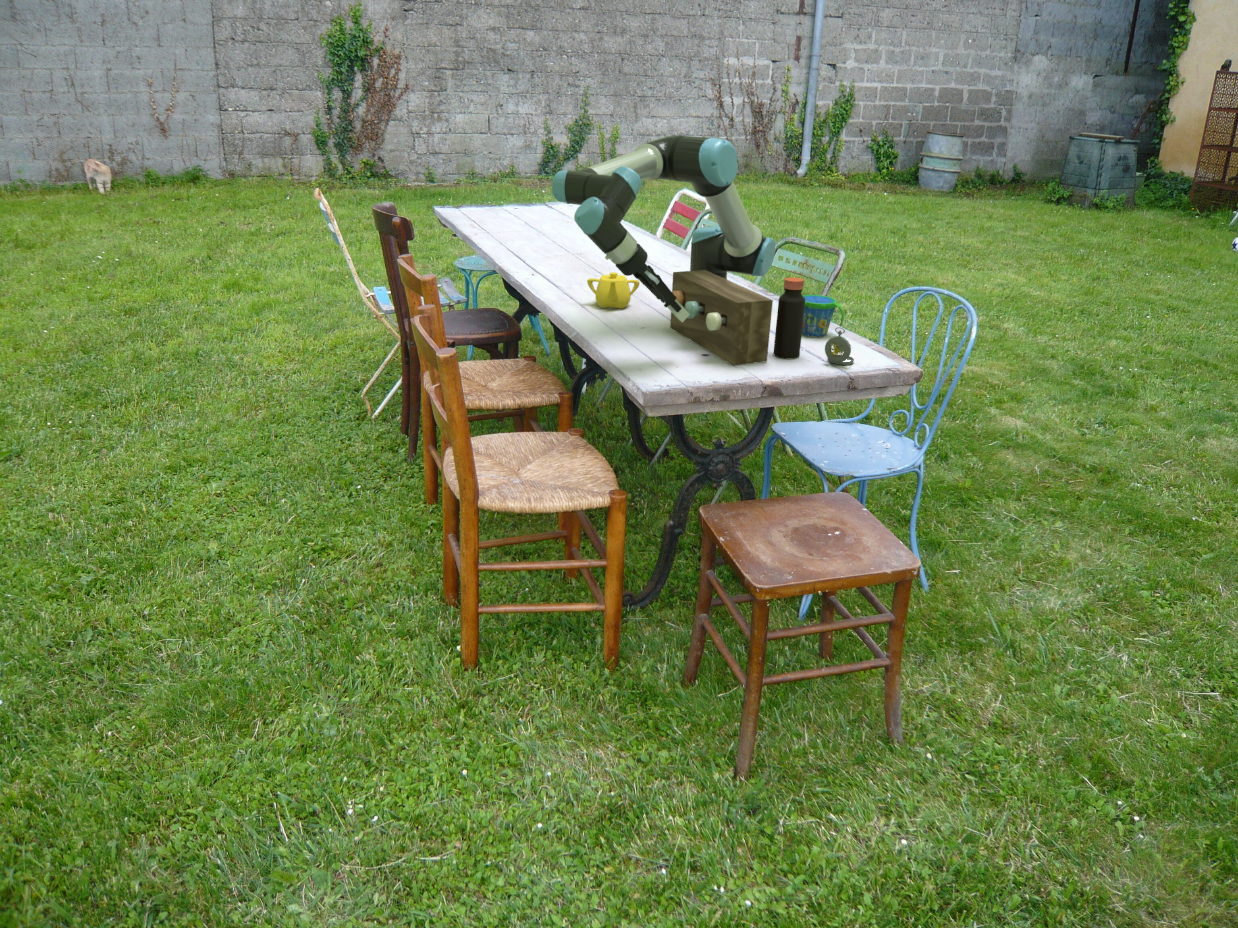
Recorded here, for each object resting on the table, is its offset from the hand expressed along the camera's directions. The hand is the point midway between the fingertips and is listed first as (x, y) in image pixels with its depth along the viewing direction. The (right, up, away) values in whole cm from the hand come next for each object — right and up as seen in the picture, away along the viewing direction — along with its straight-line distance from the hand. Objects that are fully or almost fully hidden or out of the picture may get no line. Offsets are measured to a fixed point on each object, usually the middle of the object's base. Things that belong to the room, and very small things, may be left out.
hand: (684, 317), depth 231 cm
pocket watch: (+40, -11, +6) cm, 42 cm away
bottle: (+27, -8, +10) cm, 30 cm away
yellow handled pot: (-18, +12, +52) cm, 57 cm away
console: (+10, -4, +18) cm, 21 cm away
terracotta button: (+1, +7, +23) cm, 24 cm away
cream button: (+9, -3, +3) cm, 10 cm away
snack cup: (+39, 0, +30) cm, 49 cm away
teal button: (+4, +2, +13) cm, 13 cm away
